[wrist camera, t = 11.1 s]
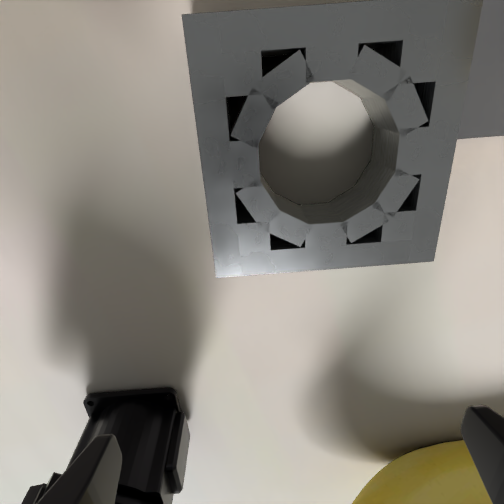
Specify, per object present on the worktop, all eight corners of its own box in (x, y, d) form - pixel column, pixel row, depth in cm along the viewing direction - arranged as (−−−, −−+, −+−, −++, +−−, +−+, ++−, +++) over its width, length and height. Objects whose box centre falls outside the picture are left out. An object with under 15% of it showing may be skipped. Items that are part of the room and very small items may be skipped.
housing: (219, 252, 20) (216, 277, 17) (191, 28, 15) (181, 14, 12) (406, 237, 20) (433, 261, 17) (440, 10, 15) (484, -8, 12)
